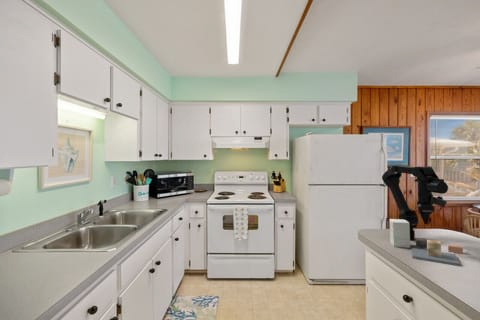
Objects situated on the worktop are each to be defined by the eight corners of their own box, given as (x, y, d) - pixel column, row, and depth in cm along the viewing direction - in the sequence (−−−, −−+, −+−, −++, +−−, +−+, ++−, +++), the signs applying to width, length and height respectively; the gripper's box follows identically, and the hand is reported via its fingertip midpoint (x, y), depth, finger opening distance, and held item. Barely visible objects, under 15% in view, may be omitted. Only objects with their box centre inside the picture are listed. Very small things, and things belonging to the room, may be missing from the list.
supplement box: (405, 243, 129) (405, 219, 129) (410, 248, 122) (409, 222, 122) (389, 242, 132) (389, 218, 132) (393, 246, 125) (392, 221, 125)
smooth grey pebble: (416, 246, 124) (416, 240, 124) (415, 244, 129) (415, 238, 129) (428, 248, 122) (428, 242, 122) (427, 245, 126) (427, 239, 126)
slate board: (412, 258, 110) (412, 255, 110) (411, 249, 120) (411, 247, 120) (460, 266, 101) (460, 263, 101) (455, 256, 111) (455, 254, 111)
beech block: (428, 255, 110) (427, 242, 110) (427, 252, 114) (427, 239, 114) (441, 257, 108) (440, 243, 108) (439, 254, 111) (439, 241, 111)
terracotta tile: (448, 252, 117) (448, 245, 117) (447, 250, 119) (447, 244, 119) (462, 254, 114) (462, 247, 114) (461, 252, 116) (461, 245, 116)
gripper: (448, 194, 113) (448, 228, 113) (442, 190, 129) (443, 220, 128) (417, 193, 119) (418, 225, 119) (416, 189, 135) (416, 217, 135)
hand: (425, 222), depth 125 cm, fingers open, 9 cm apart
